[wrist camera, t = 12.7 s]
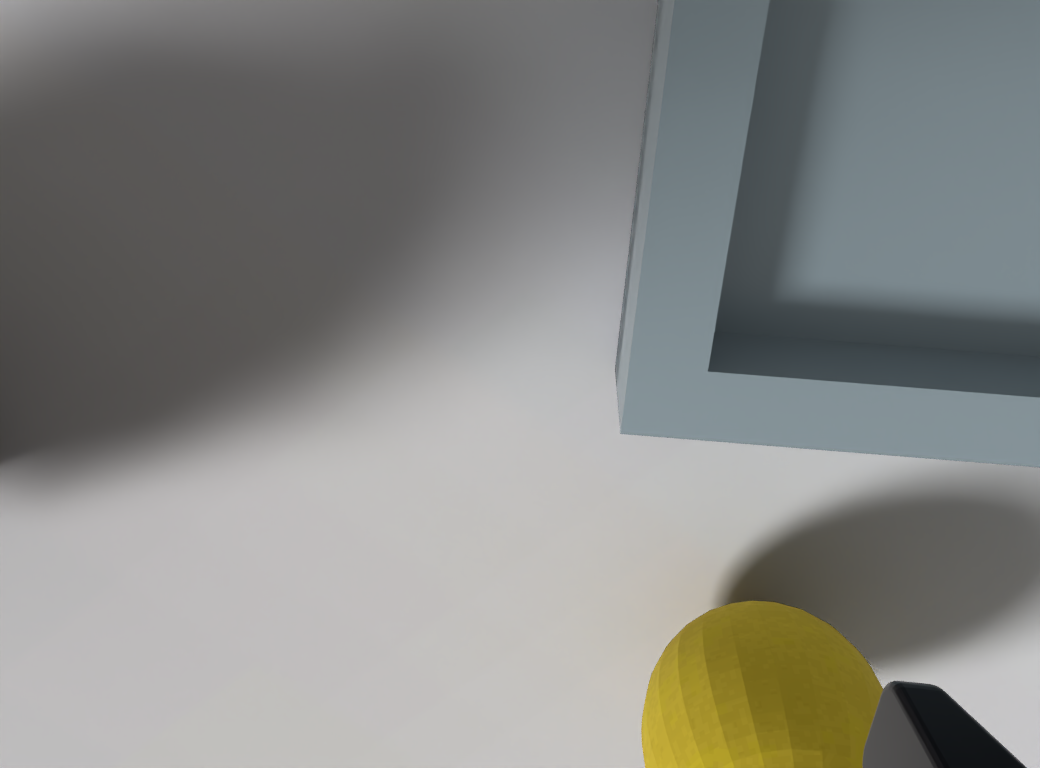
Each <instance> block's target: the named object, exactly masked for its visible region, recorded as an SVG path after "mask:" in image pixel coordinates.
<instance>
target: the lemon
mask: <svg viewBox="0 0 1040 768" xmlns="http://www.w3.org/2000/svg"><path fill="white" fill-rule="evenodd" d="M882 691H883V688H882V686H881V684H880V683H879V681H878V679H877V677H876V675H875V674H874V672H873V670H872V668H871V667H870V665H869V664H868V662H867V661H866V659H865V658H864V657H863V656H862V654H861V653H860V652H859V651H858V650H857V649H856V648H855V647H854V646H853V645H852V644H851V643H850V642H849V641H848V640H847V639H846V638H845V637H844V636H843V635H841V634H840V633H839V632H838V631H837V630H836V629H835V628H833V627H832V626H831V625H830V624H828V623H826V622H824V621H822V620H821V619H819V618H817V617H815V616H813V615H811V614H809V613H807V612H806V611H804V610H802V609H799V608H795V607H791V606H788V605H784V604H780V603H776V602H768V601H745V602H738V603H731V604H727V605H724V606H721V607H719V608H716V609H713V610H710V611H708V612H706V613H705V614H703V615H701V616H700V617H698V618H697V619H695V620H693V621H692V622H690V623H689V624H687V625H686V626H685V627H684V628H683V629H682V630H681V631H680V632H679V633H678V634H677V635H676V636H675V637H674V638H673V639H672V640H671V642H670V643H669V644H668V645H667V647H666V648H665V650H664V652H663V654H662V655H661V657H660V659H659V661H658V662H657V664H656V666H655V668H654V670H653V672H652V674H651V678H650V681H649V685H648V689H647V694H646V699H645V704H644V710H643V716H642V731H641V732H642V747H643V754H644V761H645V768H863V765H862V764H863V751H864V747H865V743H866V740H867V737H868V734H869V731H870V727H871V724H872V721H873V718H874V715H875V712H876V709H877V706H878V703H879V700H880V696H881V694H882Z"/></svg>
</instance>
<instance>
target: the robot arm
mask: <svg viewBox="0 0 1040 768" xmlns="http://www.w3.org/2000/svg"><path fill="white" fill-rule="evenodd" d="M862 765H863V768H1027V767H1025V766H1024V765H1023V764H1022V763H1021V762H1020V761H1019V760H1018V759H1017V758H1016V757H1015V756H1014V755H1013V754H1011V753H1010V752H1009V751H1008V750H1007V749H1006V748H1005V747H1004V746H1003V745H1002V744H1001V743H1000V742H999V741H998V740H996V739H995V738H994V737H993V736H992V735H991V734H990V733H989V732H988V731H987V730H986V729H985V728H984V727H982V726H981V725H980V724H979V723H978V722H977V721H976V720H975V719H974V718H973V717H972V716H971V715H970V714H968V713H967V712H966V711H965V710H964V709H963V708H962V707H961V706H960V705H959V704H958V703H957V702H956V701H954V700H953V699H952V698H951V697H950V696H949V695H948V694H947V693H946V692H945V691H943V690H942V689H941V688H939V687H937V686H935V685H931V684H924V683H914V682H904V681H893V682H890V683H888V684H887V685H886V686H885V688H884V689H883V691H882V694H881V696H880V700H879V703H878V706H877V709H876V712H875V715H874V718H873V721H872V724H871V727H870V731H869V734H868V737H867V740H866V743H865V747H864V751H863V764H862Z"/></svg>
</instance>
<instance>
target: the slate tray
mask: <svg viewBox="0 0 1040 768" xmlns="http://www.w3.org/2000/svg"><path fill="white" fill-rule="evenodd" d="M615 373H616V386H617V398H618V410H619V422H620V434H629V435H642V436H654V437H667V438H679V439H692V440H704V441H717V442H729V443H742V444H754V445H767V446H779V447H791V448H804V449H816V450H829V451H841V452H854V453H866V454H879V455H891V456H904V457H916V458H929V459H941V460H954V461H966V462H979V463H991V464H1004V465H1016V466H1029V467H1040V0H658V8H657V17H656V25H655V34H654V42H653V51H652V59H651V68H650V76H649V85H648V93H647V102H646V110H645V119H644V127H643V136H642V144H641V153H640V161H639V170H638V178H637V187H636V195H635V204H634V212H633V221H632V229H631V238H630V246H629V255H628V263H627V272H626V280H625V289H624V297H623V306H622V314H621V323H620V331H619V340H618V348H617V357H616V365H615Z"/></svg>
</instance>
